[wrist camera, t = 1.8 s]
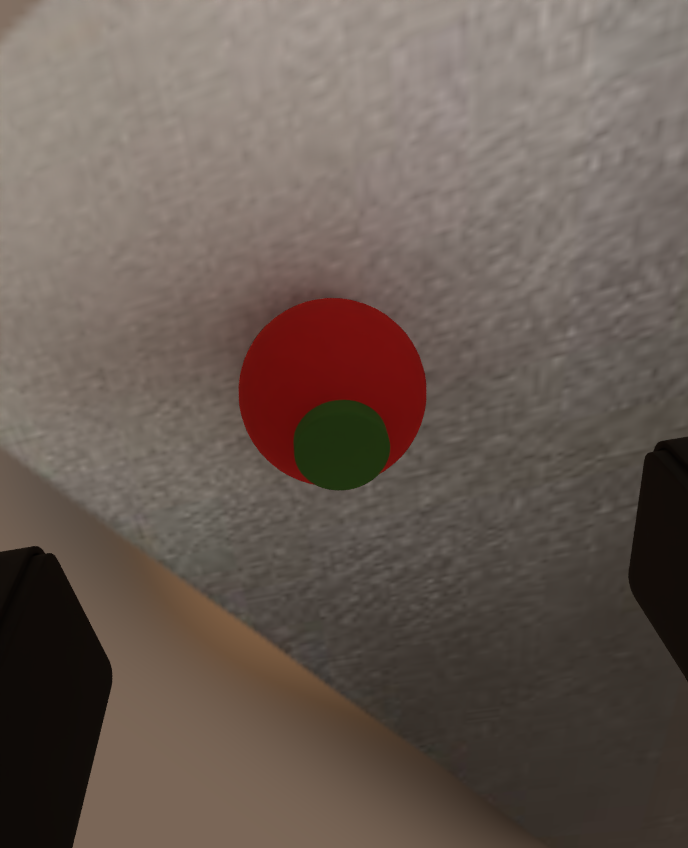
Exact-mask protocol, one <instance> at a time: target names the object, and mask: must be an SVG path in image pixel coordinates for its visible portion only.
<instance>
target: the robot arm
mask: <svg viewBox="0 0 688 848" xmlns="http://www.w3.org/2000/svg"><path fill="white" fill-rule="evenodd" d="M628 578H629V584H630V588H631V591H632V593H633V595H634V597H635V599H636V600H637V602H638V603H639V605H640V607H641V608H642V610H643V611H644V613H645V615H646V616H647V618H648V619H649V621H650V622H651V624H652V626H653V627H654V629H655V630H656V632H657V633H658V635H659V637H660V638H661V640H662V641H663V643H664V644H665V646H666V648H667V649H668V651H669V652H670V654H671V656H672V657H673V659H674V660H675V662H676V663H677V665H678V667H679V668H680V670H681V671H682V673H683V674H684V676H685V678H686V679H687V681H688V437H683V438H677V439H671V440H665V441H661V442H658V443H657V445H656V446H655V449H654V452H650V453H648V454H647V455H646V456H645V460H644V466H643V473H642V481H641V488H640V495H639V502H638V509H637V516H636V523H635V531H634V538H633V545H632V552H631V559H630V566H629V576H628ZM111 686H112V668H111V664H110V661H109V659H108V657H107V655H106V654H105V652H104V649H103V647H102V646H101V644H100V642H99V640H98V638H97V636H96V634H95V632H94V630H93V628H92V626H91V624H90V622H89V620H88V618H87V616H86V614H85V612H84V611H83V608H82V606H81V605H80V603H79V601H78V599H77V597H76V595H75V593H74V591H73V589H72V587H71V585H70V583H69V581H68V579H67V577H66V575H65V573H64V571H63V569H62V568H61V565H60V563H59V562H58V560H57V558H56V557H55V555H53V554H52V553H47V554H45V553H44V551H43V550H42V549H41V548H40V547H38V546H32V547H27V548H21V549H15V550H9V551H3V552H0V848H72V847H73V843H74V838H75V835H76V830H77V826H78V822H79V818H80V814H81V810H82V806H83V802H84V797H85V793H86V789H87V785H88V781H89V777H90V773H91V768H92V764H93V760H94V756H95V752H96V748H97V744H98V740H99V736H100V732H101V727H102V723H103V719H104V715H105V711H106V707H107V703H108V699H109V694H110V690H111Z"/></svg>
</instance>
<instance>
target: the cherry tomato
mask: <svg viewBox="0 0 688 848" xmlns="http://www.w3.org/2000/svg"><path fill="white" fill-rule="evenodd" d="M238 388H239V406H240V411H241V416H242V419H243V422H244V425H245V428H246V431H247V432H248V434H249V436H250V438H251V440H252V442H253V443H254V445H255V446H256V447H257V449H258V450H259V452H260V453H261V454H262V455H263V456H264V457H265V458H266V459H267V460H268V461H269V462H270V463H271V464H272V465H274V466H275V467H276V468H277V469H279V470H280V471H282V472H283V473H285V474H287V475H289V476H291V477H293V478H295V479H297V480H300V481H303V482H306V483H309V484H314V485H317V486H319V487H322V488H325V489H329V490H349V489H354V488H357V487H360V486H362V485H365V484H367V483H368V482H370V481H371V480H373V479H374V478H375V477H376V476H378V475H379V474H380V473H382V472H383V471H385V470H386V469H388V468H389V467H390V466H392V465H393V464H394V463H395V462H396V461H397V460H398V459H399V458H400V457H401V456H402V455H403V454H404V453H405V452H406V450H407V449H408V448H409V446H410V445H411V443H412V442H413V440H414V438H415V437H416V435H417V433H418V430H419V428H420V426H421V423H422V419H423V416H424V412H425V406H426V378H425V372H424V369H423V366H422V362H421V359H420V356H419V354H418V352H417V350H416V348H415V346H414V345H413V343H412V341H411V340H410V338H409V337H408V336H407V334H406V333H405V332H404V331H403V330H402V328H401V327H400V326H399V325H398V324H397V323H396V322H394V321H393V320H392V319H391V318H389V317H388V316H387V315H386V314H384V313H382V312H381V311H379V310H377V309H376V308H373V307H371V306H369V305H366V304H364V303H360V302H357V301H353V300H348V299H342V298H324V299H316V300H312V301H307V302H304V303H301V304H298V305H296V306H294V307H292V308H290V309H288V310H286V311H284V312H283V313H281V314H280V315H278V316H277V317H275V318H274V319H273V320H272V321H271V322H270V323H268V324H267V325H266V326H265V327H264V328H263V329H262V331H261V332H260V333H259V334H258V335H257V337H256V338H255V340H254V341H253V343H252V345H251V346H250V348H249V350H248V352H247V354H246V357H245V359H244V362H243V365H242V369H241V373H240V379H239V387H238Z"/></svg>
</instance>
